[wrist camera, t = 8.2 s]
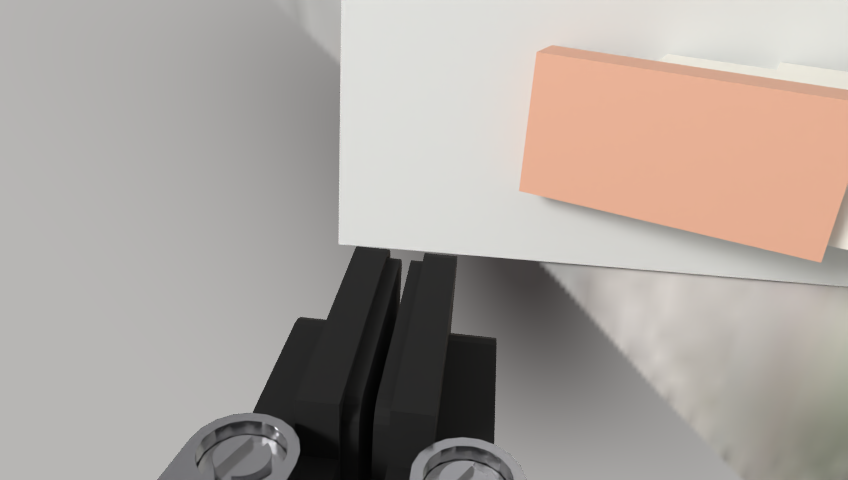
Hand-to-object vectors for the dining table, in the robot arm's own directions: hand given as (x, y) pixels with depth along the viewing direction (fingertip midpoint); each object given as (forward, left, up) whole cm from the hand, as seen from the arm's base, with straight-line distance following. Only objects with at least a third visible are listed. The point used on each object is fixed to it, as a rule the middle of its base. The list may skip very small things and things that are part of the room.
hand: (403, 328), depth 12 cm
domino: (-3, +1, -15) cm, 16 cm away
